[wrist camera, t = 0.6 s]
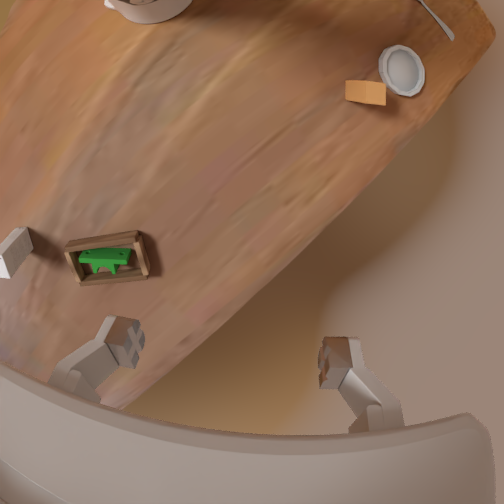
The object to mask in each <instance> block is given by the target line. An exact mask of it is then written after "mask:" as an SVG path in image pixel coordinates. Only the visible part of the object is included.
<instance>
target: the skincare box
mask: <svg viewBox="0 0 504 504" xmlns="http://www.w3.org/2000/svg"><path fill="white" fill-rule="evenodd" d="M32 250H33V245H32V242H31V239H30V235H29V232H28V228H27V227H20V228H15V229H14V230H13V231H12V232H11V233H10V234H9V235H8V236H7V238H6V239H5V240H4V241H3V242H2V243H1V244H0V278H9V279H11V278H12V276H13V275H14V273H15V272H16V271H17V269H18V268H19V267H20V265H21V264H22V263H23V261H24V260H25V259H26V257H27V256H28V255H29V254H30V252H31V251H32Z"/></svg>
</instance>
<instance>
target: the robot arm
mask: <svg viewBox="0 0 504 504" xmlns="http://www.w3.org/2000/svg"><path fill="white" fill-rule="evenodd" d="M191 2H192V0H105V6H106V7H107V8H109V9H113V10H117V11H119V12H120V13H121V14H122V15H123V16H124V17H125V18H127V19H128V20H130V21H133V22H136V23H141V24H152V23H158V22H162V21H165V20H168V19H170V18H172V17H174V16H176V15H178V14H179V13H181V12H182V11H183V10H184V9H185V8H187V7H188V5H189V4H190V3H191ZM140 325H141V324H140V322H139V320H136V319H131V318H126V317H121V316H116V315H111V314H109V315H108V316H107V317H106V319H105V320H104V322H103V324H102V326H101V328H100V330H99V332H98V334H97V336H96V337H95V339H94V340H90V341H89V342H87V343H86V344H84V345H83V346H82V347H80V348H79V349H77V350H76V351H74V352H73V353H71V354H70V355H68V356H67V357H65V358H64V359H62V360H61V361H59V362H58V363H57V365H56V367H55V369H54V371H53V373H52V375H51V377H50V379H49V381H48V383H45V382H43V381H41V380H39V379H37V378H35V377H32V376H30V375H28V374H26V373H24V372H22V371H20V370H18V369H16V368H14V367H13V366H11V365H9V364H7V363H5V362H3V361H0V504H495V498H496V495H495V493H496V483H495V481H496V480H495V464H494V456H493V449H492V443H491V438H490V434H489V432H488V429H487V428H486V427H485V426H484V425H483V424H482V423H481V422H480V421H479V420H478V419H477V418H476V417H474V416H473V415H472V414H471V413H467V412H466V413H461V414H457V415H454V416H450V417H446V418H442V419H438V420H434V421H429V422H425V423H420V424H415V425H410V426H405V425H404V420H403V414H402V409H401V404H400V401H399V400H398V399H397V398H396V397H395V396H394V395H393V393H391V391H390V390H389V389H388V388H387V387H386V386H385V385H384V384H383V383H382V382H381V381H380V380H379V378H378V377H377V376H376V375H375V374H374V373H373V372H372V371H371V370H370V369H369V368H365V364H364V359H363V354H362V349H361V344H360V339H359V338H358V337H324V338H323V341H322V344H323V346H322V347H321V348H320V350H319V354H318V368H319V369H320V370H321V372H320V374H319V385H320V389H338V391H339V392H340V394H341V395H342V397H343V398H344V399H345V401H346V402H347V404H348V405H349V407H350V408H351V409H352V411H353V412H354V414H355V415H356V416H357V419H356V420H355V421H354V423H353V424H352V425H351V426H350V427H349V433H348V434H332V435H268V434H252V433H239V432H230V431H221V430H214V429H206V428H200V427H194V426H187V425H182V424H177V423H171V422H167V421H162V420H158V419H153V418H148V417H145V416H141V415H137V414H133V413H130V412H126V411H123V410H119V409H116V408H112V407H109V406H106V405H103V404H100V400H101V398H100V396H99V395H98V393H97V392H96V391H95V389H96V388H97V387H98V386H99V385H100V384H101V383H102V382H103V381H104V380H106V379H107V378H108V377H109V376H110V375H111V374H112V373H113V372H114V371H115V370H117V369H118V368H119V366H122V367H127V368H132V369H135V368H136V365H137V363H138V360H139V355H138V353H139V352H140V351H142V349H143V347H144V342H145V336H144V332H143V331H142V330H141V329H140Z"/></svg>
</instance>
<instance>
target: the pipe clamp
mask: <svg viewBox="0 0 504 504" xmlns="http://www.w3.org/2000/svg"><path fill="white" fill-rule="evenodd" d="M130 255H131V249H129V248H94V249H88V250H83V252H82V253H81V255H80V256H79V263H92V268H93V272H94V273H97V272H98V270H99V268H100V267H102V266H103V267H107V268H108V269H110V270H111V272H112V274H116V272H117V269H118V267H119V265H120V264H127V263H128V260H129V258H130Z"/></svg>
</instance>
